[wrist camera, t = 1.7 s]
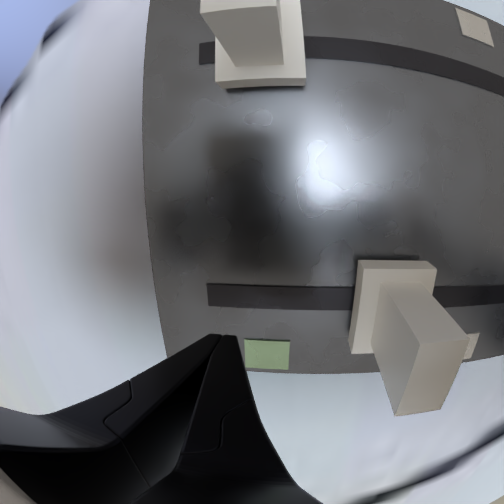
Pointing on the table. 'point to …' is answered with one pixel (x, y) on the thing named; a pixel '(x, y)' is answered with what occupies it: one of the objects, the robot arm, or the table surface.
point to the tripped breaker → (406, 333)
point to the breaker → (256, 42)
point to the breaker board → (325, 178)
